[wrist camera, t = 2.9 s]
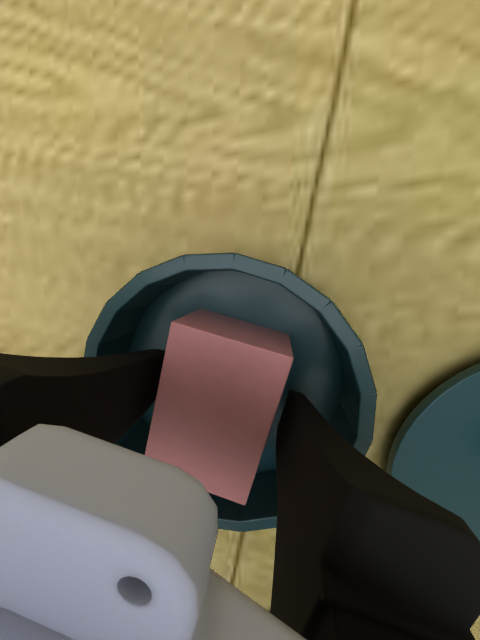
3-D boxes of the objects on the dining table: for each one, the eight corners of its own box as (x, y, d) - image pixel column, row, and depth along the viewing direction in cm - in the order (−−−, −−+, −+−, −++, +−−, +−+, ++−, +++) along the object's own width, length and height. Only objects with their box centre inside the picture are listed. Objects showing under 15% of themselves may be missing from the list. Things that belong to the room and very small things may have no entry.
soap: (289, 333, 11) (294, 358, 8) (253, 446, 13) (245, 506, 10) (200, 308, 12) (170, 321, 9) (175, 420, 13) (141, 468, 10)
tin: (408, 357, 11) (454, 386, 8) (256, 513, 14) (251, 576, 11) (195, 206, 11) (167, 184, 8) (89, 392, 14) (41, 422, 11)
